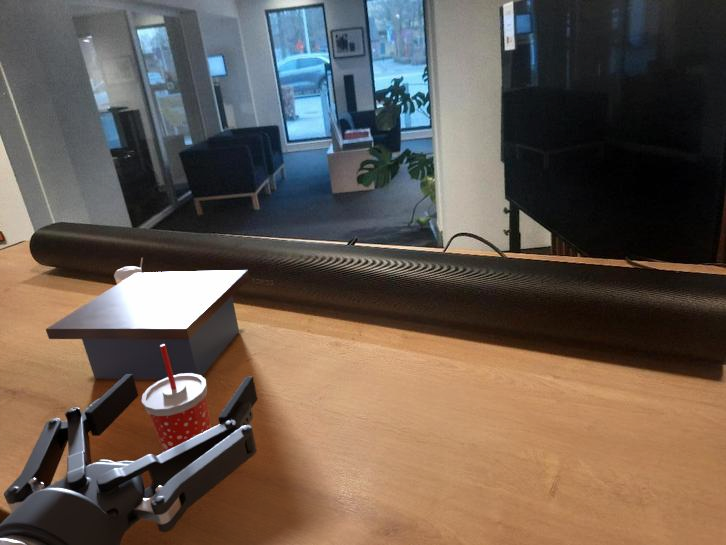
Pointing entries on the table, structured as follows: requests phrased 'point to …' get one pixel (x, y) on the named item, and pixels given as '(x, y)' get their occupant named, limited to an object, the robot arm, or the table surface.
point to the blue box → (183, 353)
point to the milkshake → (126, 272)
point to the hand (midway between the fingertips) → (190, 386)
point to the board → (152, 306)
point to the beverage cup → (177, 406)
